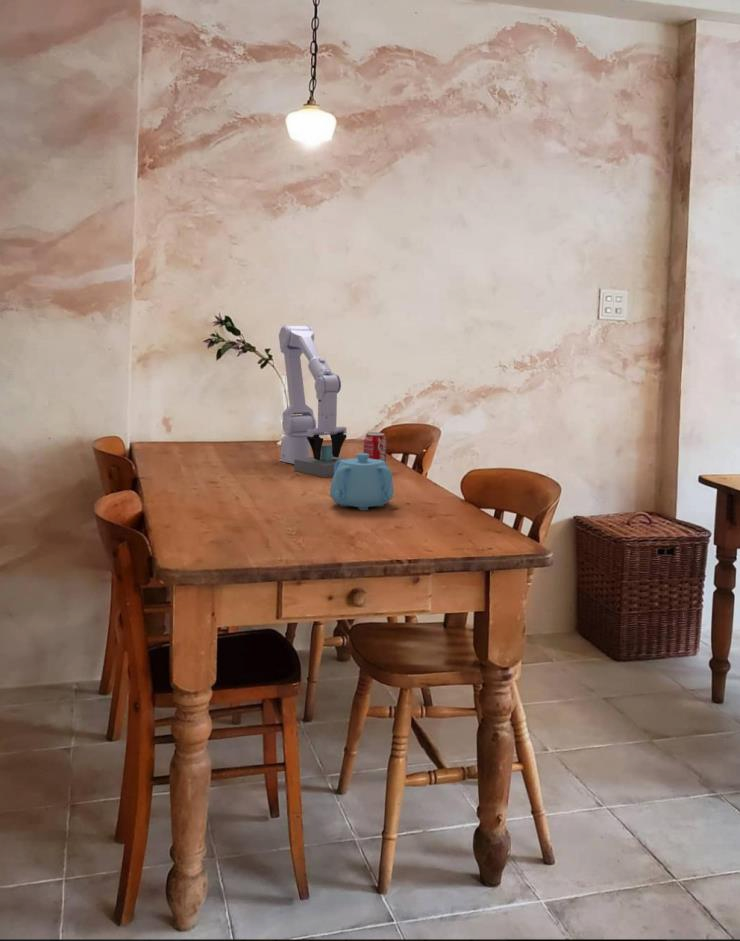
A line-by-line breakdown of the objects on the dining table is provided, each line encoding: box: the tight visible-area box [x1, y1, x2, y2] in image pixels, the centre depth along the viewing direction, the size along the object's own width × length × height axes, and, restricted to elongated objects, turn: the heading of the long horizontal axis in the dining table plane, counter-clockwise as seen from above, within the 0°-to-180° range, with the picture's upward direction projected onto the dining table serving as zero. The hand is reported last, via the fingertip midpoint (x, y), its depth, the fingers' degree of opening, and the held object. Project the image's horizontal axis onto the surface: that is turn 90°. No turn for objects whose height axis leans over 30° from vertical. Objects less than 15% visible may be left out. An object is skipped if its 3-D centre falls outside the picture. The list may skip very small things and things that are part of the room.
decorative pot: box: [329, 452, 394, 511], centre depth 238 cm, size 16×16×14 cm
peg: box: [321, 444, 333, 462], centre depth 285 cm, size 3×3×8 cm
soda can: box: [362, 431, 387, 463], centre depth 287 cm, size 7×7×12 cm
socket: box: [293, 455, 348, 478], centre depth 286 cm, size 14×14×4 cm
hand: (326, 458), depth 285 cm, fingers open, 7 cm apart
